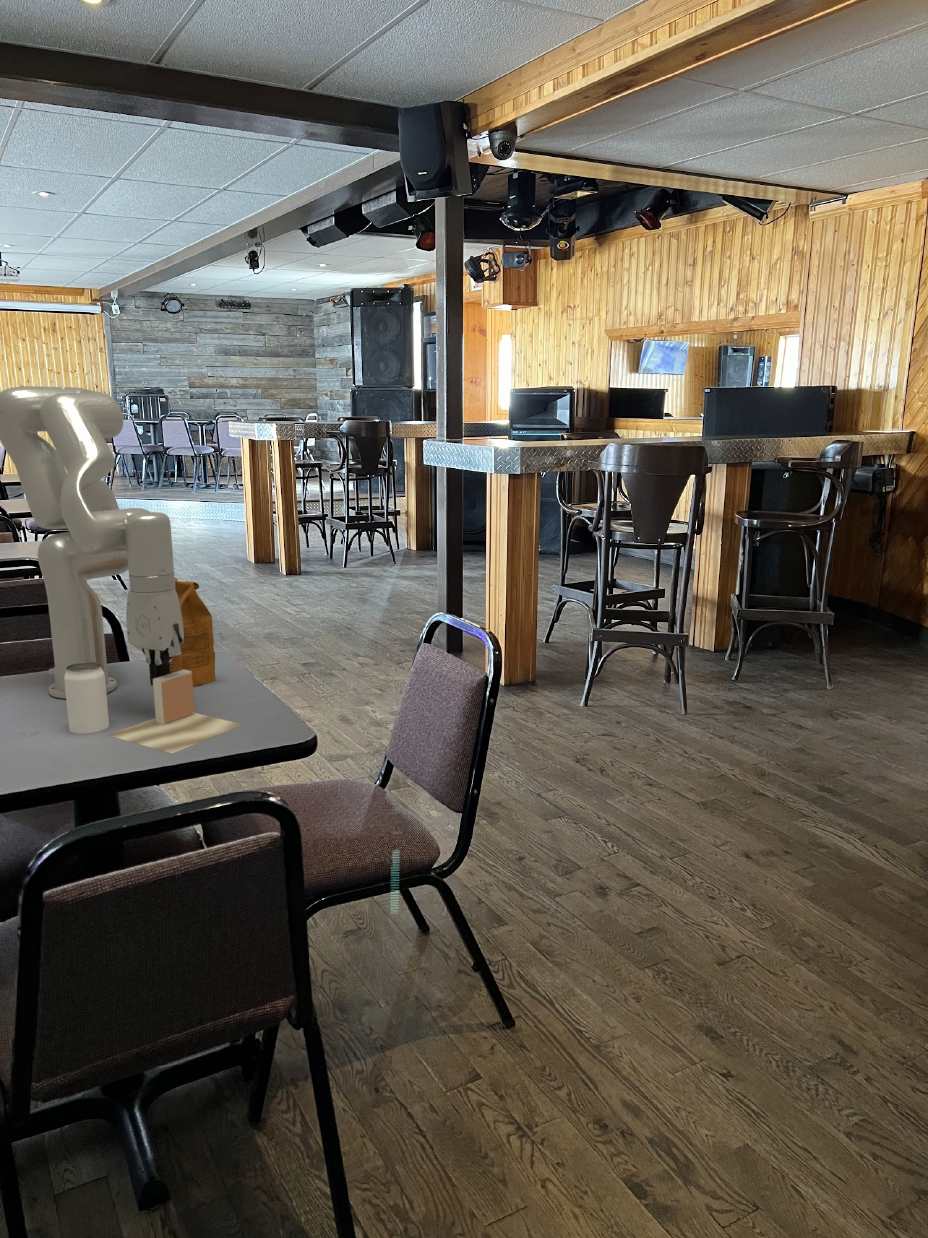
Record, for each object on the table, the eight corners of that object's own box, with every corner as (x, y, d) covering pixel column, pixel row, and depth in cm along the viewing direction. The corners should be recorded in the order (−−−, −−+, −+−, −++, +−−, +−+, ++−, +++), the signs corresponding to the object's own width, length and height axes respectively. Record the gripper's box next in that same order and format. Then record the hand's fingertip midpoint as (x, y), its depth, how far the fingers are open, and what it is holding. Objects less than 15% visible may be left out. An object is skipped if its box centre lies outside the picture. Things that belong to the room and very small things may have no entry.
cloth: (107, 740, 157) (107, 735, 156) (180, 714, 170) (180, 709, 170) (172, 759, 148) (172, 753, 148) (244, 730, 162) (243, 724, 162)
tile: (156, 722, 163) (152, 679, 161) (186, 711, 168) (183, 669, 167) (165, 724, 161) (161, 681, 160) (195, 713, 167) (192, 671, 165)
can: (95, 740, 157) (89, 672, 154) (61, 737, 158) (54, 670, 155) (117, 727, 163) (111, 662, 160) (84, 725, 164) (78, 660, 162)
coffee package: (197, 672, 196) (190, 570, 191) (222, 686, 187) (215, 579, 182) (151, 681, 190) (142, 576, 185) (175, 695, 181) (167, 585, 176)
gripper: (106, 583, 162) (116, 683, 166) (164, 591, 154) (173, 696, 158) (141, 576, 168) (149, 673, 172) (199, 584, 160) (206, 685, 165)
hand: (160, 684), depth 165 cm, fingers closed
